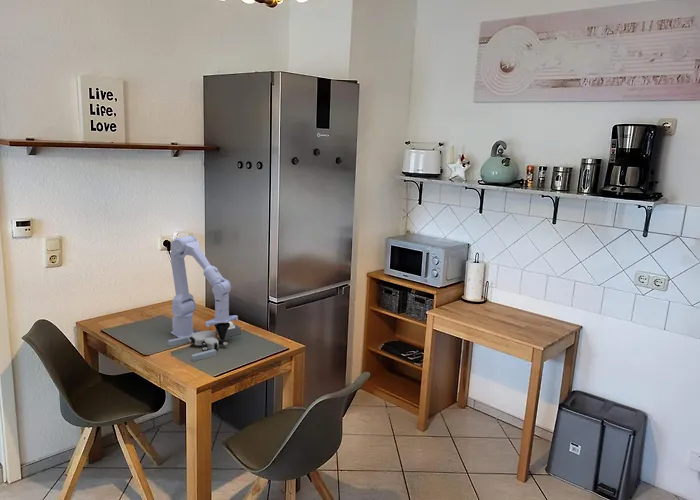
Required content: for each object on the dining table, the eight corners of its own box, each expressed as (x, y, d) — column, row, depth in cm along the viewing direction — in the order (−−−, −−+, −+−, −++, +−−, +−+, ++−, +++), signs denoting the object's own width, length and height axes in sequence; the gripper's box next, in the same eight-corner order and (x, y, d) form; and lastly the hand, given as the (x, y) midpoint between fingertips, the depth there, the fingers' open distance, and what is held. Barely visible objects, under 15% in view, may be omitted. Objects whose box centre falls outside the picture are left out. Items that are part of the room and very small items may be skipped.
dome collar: (215, 332, 241) (215, 325, 240) (231, 329, 246) (231, 322, 246) (225, 337, 235) (225, 330, 235) (240, 333, 241) (240, 326, 240)
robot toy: (229, 349, 224) (211, 337, 234) (229, 339, 223) (211, 327, 233) (202, 356, 216) (185, 343, 226) (203, 346, 215) (185, 333, 225)
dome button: (218, 331, 241) (218, 320, 240) (230, 328, 245) (230, 318, 244) (225, 334, 236) (225, 324, 236) (237, 331, 241) (237, 321, 240)
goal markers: (167, 344, 224) (167, 340, 224) (190, 339, 231) (190, 335, 231) (193, 361, 209) (193, 356, 209) (216, 355, 216) (216, 350, 215)
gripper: (211, 314, 219) (211, 345, 222) (241, 308, 229) (241, 338, 232) (202, 310, 224) (203, 340, 227) (232, 304, 234) (232, 333, 237)
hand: (222, 339), depth 229 cm, fingers closed
